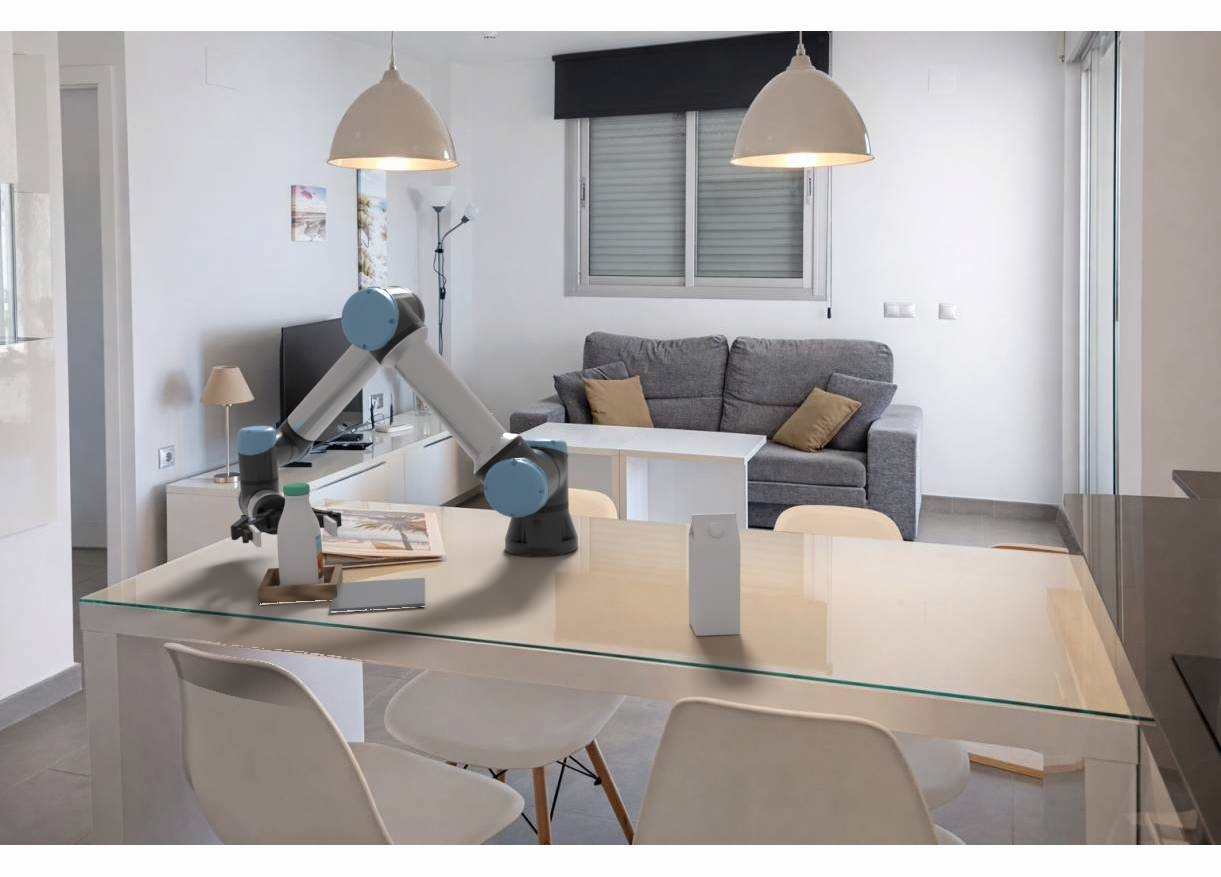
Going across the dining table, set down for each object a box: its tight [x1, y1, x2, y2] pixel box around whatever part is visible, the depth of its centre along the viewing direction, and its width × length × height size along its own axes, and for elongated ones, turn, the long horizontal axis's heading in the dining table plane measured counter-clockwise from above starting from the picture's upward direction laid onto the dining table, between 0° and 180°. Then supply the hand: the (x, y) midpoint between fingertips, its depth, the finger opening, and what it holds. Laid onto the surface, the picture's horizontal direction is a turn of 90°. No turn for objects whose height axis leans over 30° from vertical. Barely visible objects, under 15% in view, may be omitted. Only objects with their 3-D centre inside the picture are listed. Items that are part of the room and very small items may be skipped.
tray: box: [257, 563, 344, 605], centre depth 202 cm, size 13×13×3 cm
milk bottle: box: [276, 482, 324, 586], centre depth 200 cm, size 8×8×20 cm
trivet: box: [329, 577, 426, 612], centre depth 198 cm, size 16×16×1 cm
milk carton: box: [688, 512, 741, 637], centre depth 177 cm, size 7×7×19 cm
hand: (297, 534), depth 200 cm, fingers open, 13 cm apart
